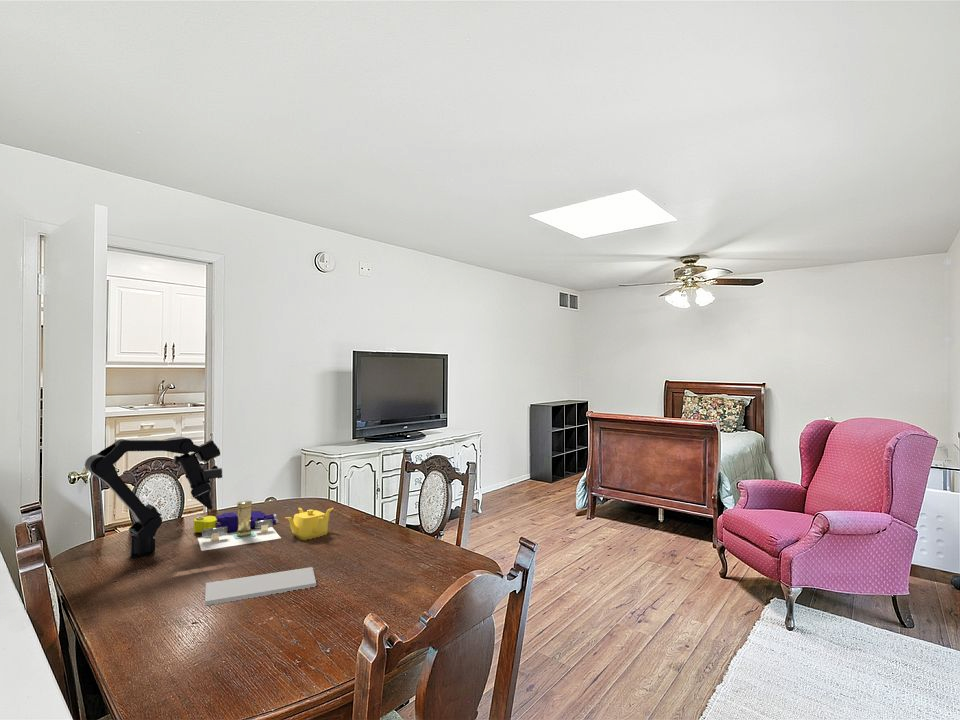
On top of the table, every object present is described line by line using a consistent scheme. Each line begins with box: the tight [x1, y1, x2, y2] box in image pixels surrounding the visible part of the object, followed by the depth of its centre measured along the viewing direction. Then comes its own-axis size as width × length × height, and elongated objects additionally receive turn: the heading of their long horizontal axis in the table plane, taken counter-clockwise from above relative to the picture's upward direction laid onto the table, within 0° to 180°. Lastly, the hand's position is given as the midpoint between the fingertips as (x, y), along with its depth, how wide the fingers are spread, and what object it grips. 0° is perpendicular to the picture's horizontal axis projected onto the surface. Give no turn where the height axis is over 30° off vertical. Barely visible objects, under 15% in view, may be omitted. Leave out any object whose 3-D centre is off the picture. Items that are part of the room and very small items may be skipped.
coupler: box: [236, 500, 253, 537], centre depth 192 cm, size 5×5×12 cm
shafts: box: [201, 519, 274, 542], centre depth 191 cm, size 24×6×4 cm, turn 123°
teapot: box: [284, 507, 334, 541], centre depth 197 cm, size 15×14×10 cm
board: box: [197, 526, 282, 552], centre depth 188 cm, size 26×16×1 cm, turn 123°
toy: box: [192, 510, 279, 534], centre depth 200 cm, size 12×7×30 cm
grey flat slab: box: [204, 566, 317, 607], centre depth 149 cm, size 29×12×4 cm, turn 117°
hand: (211, 506), depth 189 cm, fingers open, 9 cm apart
